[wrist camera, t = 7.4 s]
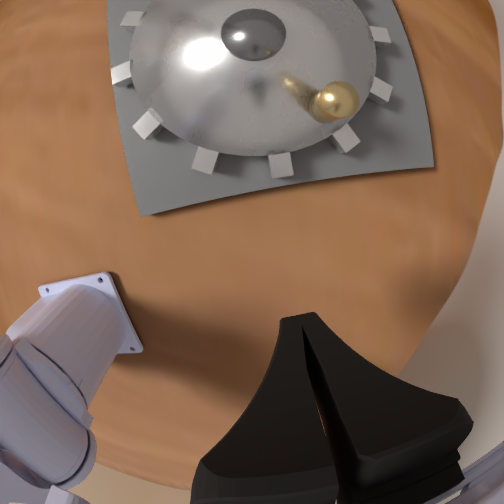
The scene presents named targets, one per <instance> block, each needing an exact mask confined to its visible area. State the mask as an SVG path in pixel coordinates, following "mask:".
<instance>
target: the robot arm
mask: <svg viewBox="0 0 504 504" xmlns="http://www.w3.org/2000/svg"><path fill="white" fill-rule="evenodd" d="M100 278H102V280H103V281H101V280H100ZM38 290H39V293H40V295H41V298H40V299H39V300H38V301H37V302H35V303H34V304H33V305H32V306H31V307H30V308H29V309H28V310H27V311H26V312H25V313H24V314H22V315H21V316H20V317H19V318H18V319H17V320H16V321H15V322H14V323H13V324H12V325H11V326H10V327H9V329H8V330H7V332H6V334H4V335H3V334H0V504H8V503H10V502H15V503H25V504H90V503H89V502H88V501H86V500H84V499H83V498H81V497H79V496H77V495H75V494H73V493H71V492H68V491H66V490H68V489H70V488H73V487H75V486H76V485H78V484H80V483H81V482H82V481H83V480H85V479H86V477H87V476H88V475H89V473H90V472H91V470H92V468H93V465H94V462H95V458H96V452H97V444H96V439H95V436H94V434H93V433H92V431H91V430H90V429H89V427H90V425H91V423H92V420H93V417H92V416H91V414H90V413H89V412H88V410H87V409H88V407H89V405H90V403H91V401H92V399H93V397H94V395H95V394H96V392H97V390H98V388H99V386H100V384H101V382H102V380H103V378H104V376H105V375H106V373H107V371H108V369H109V367H110V365H111V364H112V362H113V360H114V358H115V356H116V355H117V354H123V353H141V352H142V351H143V346H142V344H141V342H140V340H139V338H138V336H137V334H136V331H135V329H134V327H133V325H132V323H131V321H130V319H129V317H128V314H127V312H126V310H125V308H124V306H123V303H122V301H121V299H120V296H119V294H118V291H117V289H116V287H115V284H114V282H113V279H112V277H111V275H110V274H109V273H108V272H102V273H97V274H92V275H87V276H82V277H77V278H73V279H68V280H63V281H58V282H54V283H49V284H44V285H41V286H40V287H39V288H38ZM132 347H133V348H132ZM315 400H316V401H315ZM316 403H317V405H316ZM317 406H318V408H317ZM318 409H319V412H320V415H321V419H322V422H323V426H324V429H323V426H322V422H321V419H320V415H319V412H318ZM473 423H474V422H473V421H472V419H471V417H470V416H469V414H468V412H467V411H466V409H465V407H464V406H463V405H462V404H461V403H460V401H459V400H458V399H457V398H453V397H449V396H445V395H441V394H437V393H433V392H430V391H427V390H424V389H421V388H419V387H416V386H414V385H411V384H409V383H407V382H404V381H402V380H400V379H398V378H396V377H394V376H392V375H390V374H388V373H387V372H385V371H383V370H381V369H380V368H378V367H376V366H375V365H373V364H372V363H370V362H369V361H367V360H366V359H364V358H363V357H362V356H360V355H359V354H358V353H357V352H355V351H354V350H353V349H352V348H350V347H349V346H348V345H347V344H346V343H344V342H343V341H342V340H341V339H340V338H339V337H338V336H337V335H336V334H335V333H334V332H333V331H332V330H331V329H330V328H329V327H328V326H327V325H326V324H325V323H324V322H323V321H322V320H321V318H320V317H319V316H318V315H317V314H316V313H315V312H311V313H306V314H301V315H296V316H290V317H285V318H282V319H281V320H280V328H279V335H278V339H277V343H276V347H275V350H274V353H273V356H272V359H271V362H270V364H269V367H268V369H267V372H266V374H265V376H264V378H263V381H262V383H261V385H260V386H259V388H258V390H257V392H256V394H255V395H254V397H253V399H252V400H251V402H250V403H249V405H248V407H247V408H246V410H245V411H244V412H243V414H242V415H241V417H240V418H239V419H238V420H237V422H236V423H235V424H234V425H233V427H232V428H231V429H230V430H229V431H228V433H227V434H226V435H225V436H224V437H223V438H222V439H221V440H220V441H219V442H218V443H217V444H216V445H215V446H214V447H213V448H212V449H211V450H210V451H209V452H208V453H207V454H206V455H205V456H204V457H203V458H202V459H201V460H200V462H199V464H198V467H197V469H196V472H195V476H194V479H193V483H192V490H191V501H190V504H335V501H336V499H337V504H436V503H438V502H440V501H442V500H444V499H446V498H447V497H449V496H451V495H453V494H454V493H456V492H458V491H459V490H461V489H462V491H461V493H460V495H459V496H457V497H456V498H454V499H452V500H451V501H449V502H447V503H446V504H504V441H503V442H502V443H500V444H499V445H498V446H496V447H495V448H494V449H492V450H491V451H490V452H488V453H487V454H485V455H484V456H483V457H481V458H480V459H478V460H477V461H475V462H474V463H472V464H471V465H469V466H468V467H466V468H464V469H463V470H461V468H460V466H459V464H458V462H457V461H458V460H459V459H460V454H459V452H458V450H457V449H458V447H459V446H460V445H461V443H462V442H463V441H464V440H465V439H466V437H467V436H468V435H469V433H470V432H471V430H472V427H473ZM324 430H325V433H324ZM325 435H326V436H325Z"/></svg>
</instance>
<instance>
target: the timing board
mask: <svg viewBox="0 0 504 504" xmlns="http://www.w3.org/2000/svg"><path fill="white" fill-rule="evenodd" d="M152 1H153V0H107V26H108V43H109V56H110V66H111V69H112V68H114V67H116V66H118V65H121V64H123V63H125V62H128V61H129V54H130V46H131V41H132V37H133V34H134V32H127V31H126V30H124V29H123V28H122V27H121V26H120V24H121V22H122V20H123V18H124V17H125V15H126V13H127V11H139V12H144V11H145V9H146V8H147V7H148V5H149V4H150V3H151V2H152ZM353 2H354V3H355V4H356V5H357V7H358V8H359V9H360V11H361V12H362V14H363V15H364V17H365V19H366V21H367V23H368V25H369V26H374V27H382V28H387V31H388V34H389V37H390V40H391V44H389V45H388V46H386V47H385V48H378V47H375V48H376V58H377V59H376V73H375V77H377V78H379V79H380V80H382V81H384V82H386V83H387V84H389V85H391V86H392V87H393V88H392V91H391V94H390V98H389V101H388V102H387V103H383V104H378V103H376V102H374V101H372V100H371V99H369V98H367V99H366V100H365V102H364V104H363V105H362V107H361V108H360V110H359V111H358V112H357V113H356V114H355V116H354V117H353V118H352V119H351V120H350V121H349V122H348V125H349V126H350V127H351V129H352V130H353V131H354V133H355V134H356V136H357V137H358V138H359V140H360V141H361V142H359V143H358V144H357V145H356V146H354V147H353V148H352V149H351V150H349V151H348V152H347V153H340V152H339V151H338V150H337V148H336V147H335V146H334V145H333V143H332V142H331V141H330V139H329V138H328V137H327V138H326V139H323V140H321V141H319V142H317V143H315V144H313V145H311V146H308V147H305V148H302V149H299V150H296V151H291V152H290V157H291V162H292V168H293V174H294V175H292V176H286V177H280V178H274V179H272V178H271V175H270V169H269V164H268V158H267V155H266V156H240V155H232V154H225V153H221V154H220V157H219V160H218V163H217V166H216V169H215V172H214V174H212V175H211V174H207V173H204V172H201V171H198V170H194V169H191V168H192V165H193V162H194V159H195V155H196V152H197V149H198V146H197V145H194V144H192V143H190V142H188V141H186V140H184V139H182V138H180V137H178V136H176V135H175V134H173V133H172V132H171V131H169V130H168V129H166V128H165V127H164V128H163V129H162V130H161V131H160V132H159V133H158V134H157V135H156V136H155V137H154V138H153V139H152V140H151V141H150V140H144V139H143V138H142V137H141V136H140V135H139V134H138V133H137V132H136V131H135V129H134V128H133V127H132V126H133V125H134V124H135V123H136V122H137V121H138V120H139V119H140V118H141V117H142V116H143V115H144V114H145V113H146V112H147V111H148V110H147V109H146V108H145V106H144V105H143V103H142V101H141V100H140V98H139V96H138V94H137V92H136V89H135V87H134V84H133V83H132V84H129V85H127V86H124V87H122V88H120V87H117V86H115V85H113V91H114V98H115V105H116V111H117V117H118V123H119V128H120V133H121V139H122V144H123V149H124V153H125V158H126V162H127V167H128V171H129V175H130V180H131V184H132V188H133V192H134V195H135V199H136V203H137V207H138V210H139V214H140V217H143V216H147V215H151V214H155V213H159V212H163V211H167V210H171V209H175V208H179V207H183V206H187V205H191V204H196V203H200V202H205V201H209V200H214V199H218V198H223V197H228V196H232V195H237V194H242V193H247V192H252V191H257V190H263V189H268V188H274V187H279V186H285V185H291V184H296V183H303V182H309V181H315V180H322V179H328V178H335V177H342V176H350V175H357V174H366V173H374V172H383V171H392V170H402V169H413V168H425V167H434V160H433V150H432V142H431V135H430V128H429V122H428V116H427V111H426V105H425V100H424V96H423V91H422V87H421V83H420V79H419V75H418V71H417V68H416V64H415V61H414V57H413V54H412V51H411V48H410V45H409V42H408V39H407V36H406V33H405V31H404V28H403V25H402V23H401V20H400V18H399V15H398V13H397V11H396V8H395V6H394V4H393V2H392V0H353Z"/></svg>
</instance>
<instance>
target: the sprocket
mask: <svg viewBox="0 0 504 504" xmlns="http://www.w3.org/2000/svg"><path fill="white" fill-rule="evenodd" d="M120 26H121V27H122V28H123V29H124V30H126V31H127V32H134V34H133V37H132V41H131V46H130V54H129V61H128V62H125V63H123V64H121V65H118V66H116V67H114V68H112V69H111V76H112V85H115V86H117V87H120V88H122V87H124V86H127V85H129V84H132V83H133V84H134V87H135V89H136V92H137V94H138V96H139V98H140V100H141V101H142V103H143V105H144V106H145V108H146V109H147V110H148V111H147V112H146V113H145V114H144V115H143V116H142V117H141V118H140V119H139V120H138V121H137V122H136V123H135V124H134V125H133V126H132V127H133V128H134V129H135V131H136V132H137V133H138V134H139V135H140V136H141V137H142V138H143V139H144V140H150V141H151V140H152V139H153V138H154V137H155V136H156V135H157V134H158V133H159V132H160V131H161V130H162V129H163V128H164V127H165V128H166V129H168V130H169V131H171V132H172V133H173V134H175V135H176V136H178V137H180V138H182V139H184V140H186V141H188V142H190V143H192V144H194V145H197V146H198V149H197V152H196V155H195V159H194V162H193V165H192V168H191V169H194V170H198V171H201V172H204V173H207V174H211V175H212V174H214V172H215V169H216V166H217V163H218V160H219V157H220V154H221V153H225V154H232V155H240V156H266V155H267V158H268V164H269V169H270V175H271V178H272V179H274V178H280V177H286V176H292V175H294V174H293V168H292V162H291V157H290V152H291V151H296V150H299V149H302V148H305V147H308V146H311V145H313V144H315V143H317V142H319V141H321V140H323V139H326V138H327V137H328V138H329V139H330V141H331V142H332V143H333V145H334V146H335V147H336V148H337V150H338V151H339V152H340V153H347V152H348V151H349V150H351V149H352V148H353V147H354V146H356V145H357V144H358V143H359V142H361V141H360V140H359V138H358V137H357V136H356V134H355V133H354V131H353V130H352V129H351V127H350V126H349V125H348V122H349V121H350V120H351V119H352V118H353V117H354V116H355V114H356V113H357V112H358V111H359V110H360V108H361V107H362V105H363V104H364V102H365V100H366V99H367V98H369V99H371V100H372V101H374V102H376V103H378V104H383V103H387V102H388V101H389V98H390V94H391V91H392V88H393V87H392V86H391V85H389V84H387V83H386V82H384V81H382V80H380V79H379V78H377V77H375V73H376V59H377V58H376V48H375V47H378V48H385V47H386V46H388V45H389V44H391V40H390V37H389V34H388V31H387V28H382V27H374V26H369V25H368V23H367V21H366V19H365V17H364V15H363V14H362V12H361V11H360V9H359V8H358V7H357V5H356V4H355V3H354V2H353V0H153V1H152V2H151V3H150V4H149V5H148V7H147V8H146V9H145V11H144V12H139V11H127V13H126V15H125V17H124V18H123V20H122V22H121V24H120Z"/></svg>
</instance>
